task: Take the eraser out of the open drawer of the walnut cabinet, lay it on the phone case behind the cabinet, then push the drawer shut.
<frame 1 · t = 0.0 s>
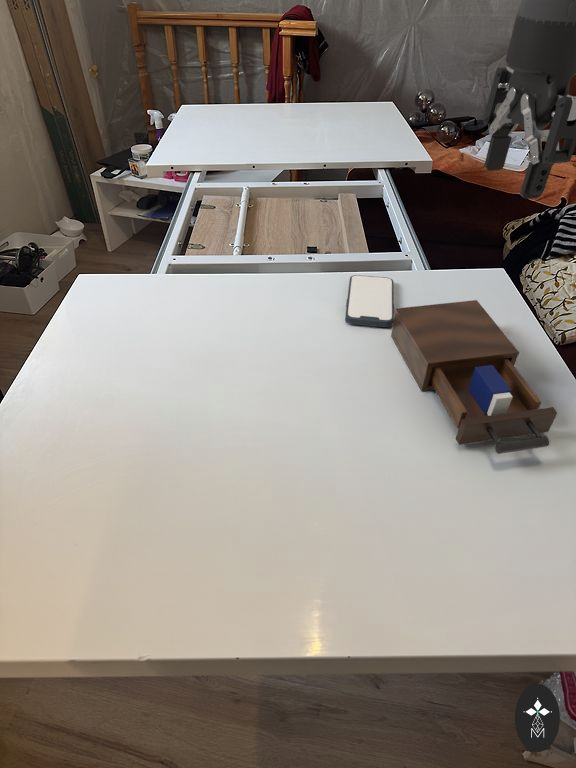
hand: (510, 182, 61), 33 cm above the table, tool pointing down, fingers open, 8 cm apart
drawer: (492, 405, 77), point 3 cm above the table, slide at 11.0 cm, touching eraser
phone case: (369, 304, 102), on the table
eraser: (485, 400, 79), point 2 cm above the table, touching drawer
cabinet: (446, 357, 90), on the table
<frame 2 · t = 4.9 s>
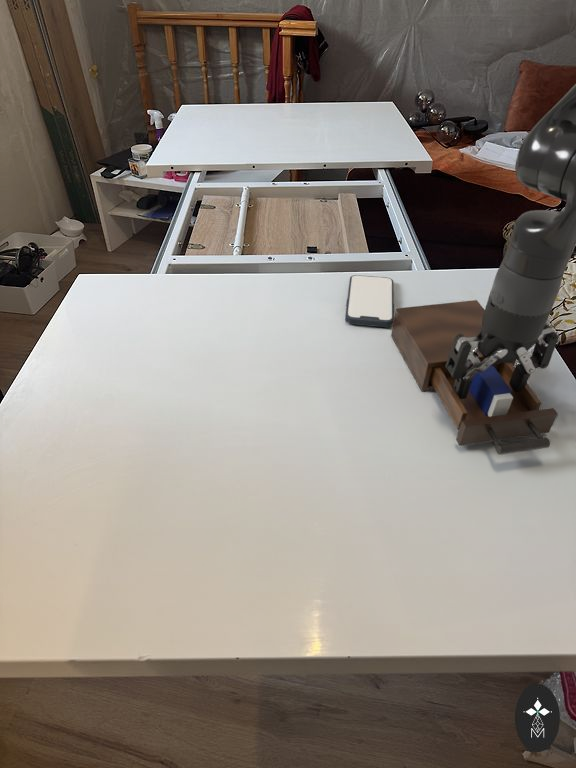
hand: (487, 391, 77), 4 cm above the table, tool pointing down, fingers open, 8 cm apart
drawer: (492, 406, 77), point 3 cm above the table, slide at 11.2 cm, touching gripper, eraser
everything else where it was.
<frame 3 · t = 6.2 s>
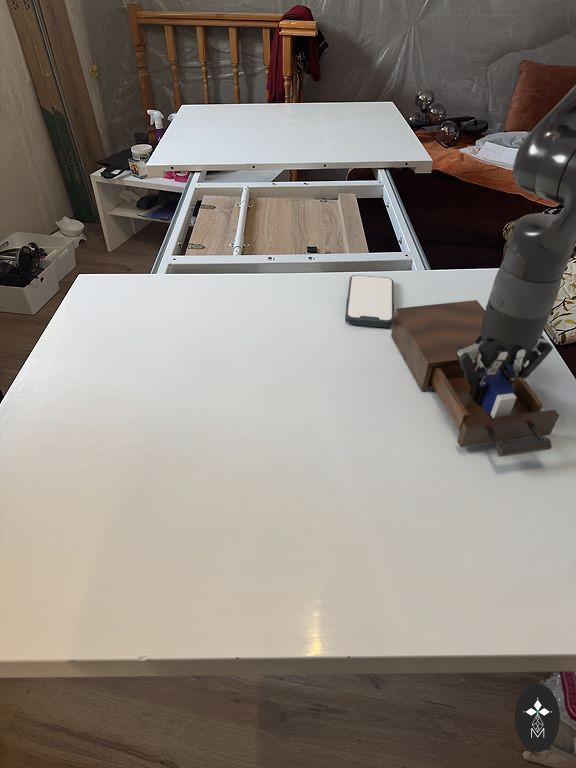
hand: (486, 398, 78), 3 cm above the table, tool pointing down, fingers closed on eraser, 3 cm apart
drawer: (494, 408, 77), point 3 cm above the table, slide at 11.5 cm
eraser: (488, 401, 78), point 2 cm above the table, touching gripper
everything else where it was.
when the fingers open (2 cm above the table, at t = 13.0 s): eraser stays where it is, resting on phone case.
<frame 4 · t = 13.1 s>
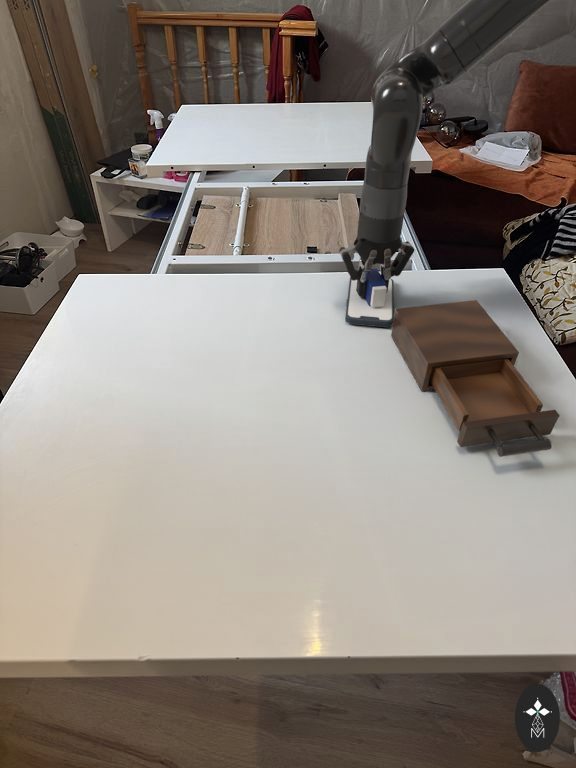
hand: (371, 295, 101), 2 cm above the table, tool pointing down, fingers open, 3 cm apart
phone case: (369, 304, 102), on the table, touching eraser
eraser: (371, 297, 100), point 2 cm above the table, touching phone case
everything else where it was.
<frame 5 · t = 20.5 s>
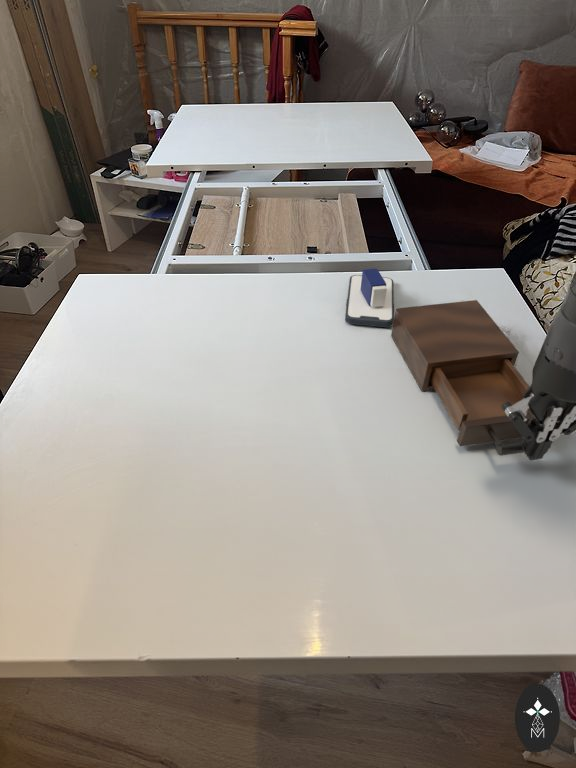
hand: (531, 454, 69), 4 cm above the table, tool pointing down, fingers closed
drawer: (493, 407, 77), point 3 cm above the table, slide at 11.3 cm, touching gripper
everything else where it was.
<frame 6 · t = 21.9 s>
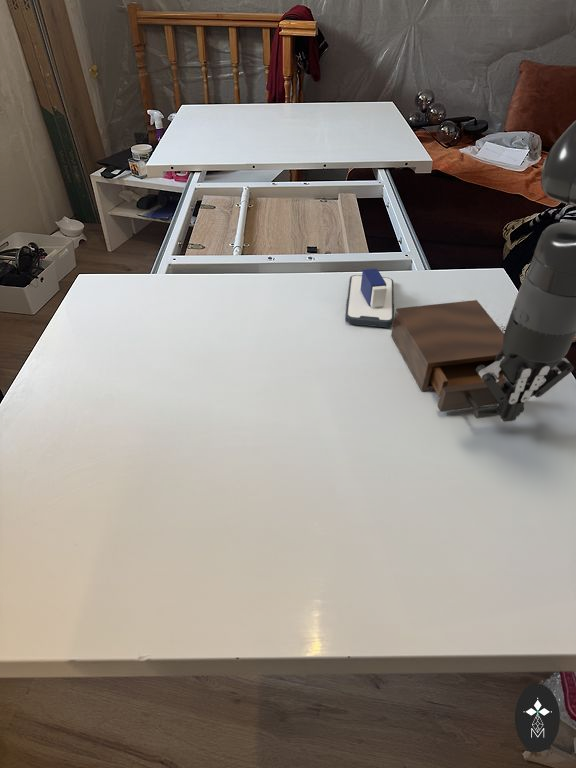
hand: (505, 416, 74), 4 cm above the table, tool pointing down, fingers closed
drawer: (472, 376, 82), point 3 cm above the table, slide at 4.4 cm, touching gripper
everything else where it was.
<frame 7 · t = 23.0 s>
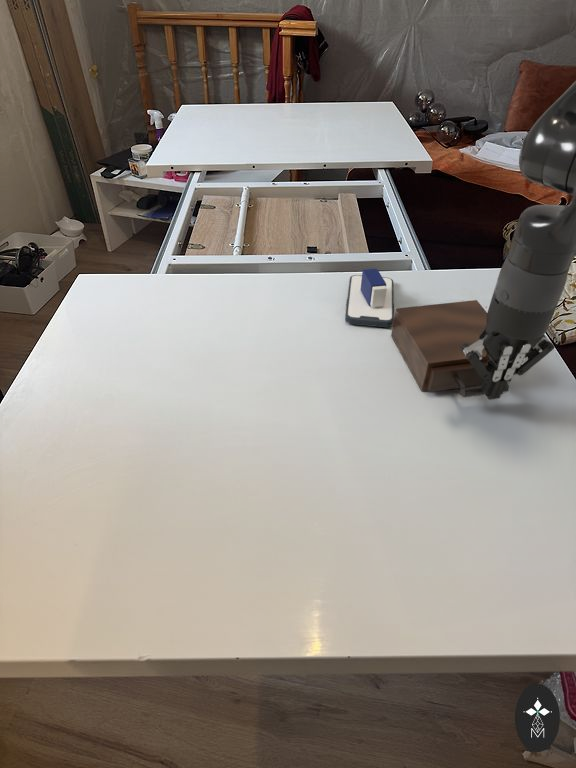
hand: (490, 395, 77), 4 cm above the table, tool pointing down, fingers closed
drawer: (460, 358, 85), point 3 cm above the table, slide at 0.0 cm, touching gripper
everything else where it was.
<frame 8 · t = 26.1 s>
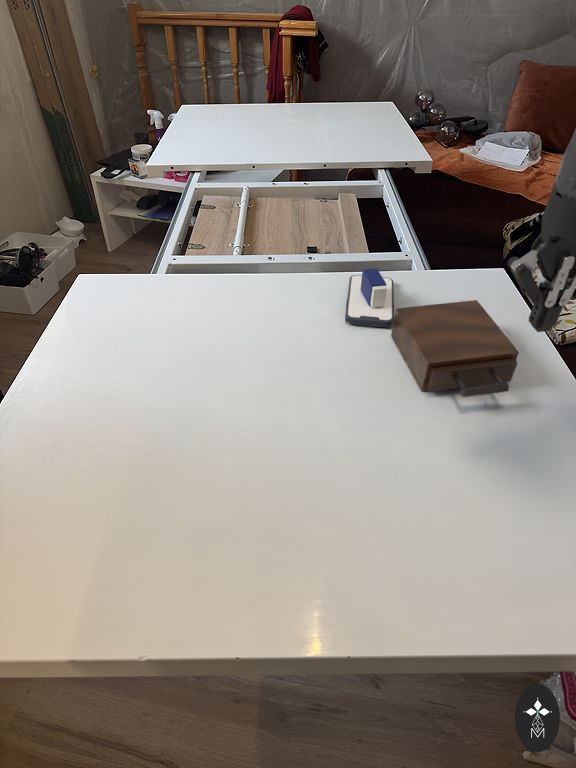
hand: (539, 327, 64), 19 cm above the table, tool pointing down, fingers closed
drawer: (460, 358, 85), point 3 cm above the table, slide at 0.0 cm
everything else where it was.
at the end: eraser inside the target area on the phone case (0.5 cm from its centre), point 1.9 cm above the phone case's base; drawer slide at 0.0 cm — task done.
